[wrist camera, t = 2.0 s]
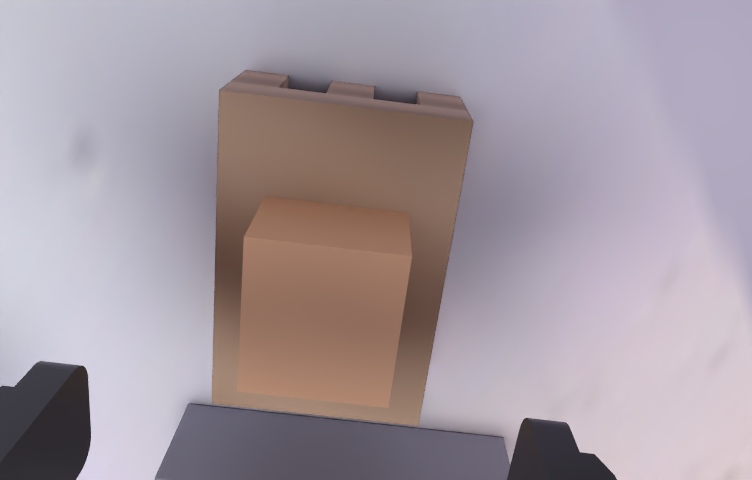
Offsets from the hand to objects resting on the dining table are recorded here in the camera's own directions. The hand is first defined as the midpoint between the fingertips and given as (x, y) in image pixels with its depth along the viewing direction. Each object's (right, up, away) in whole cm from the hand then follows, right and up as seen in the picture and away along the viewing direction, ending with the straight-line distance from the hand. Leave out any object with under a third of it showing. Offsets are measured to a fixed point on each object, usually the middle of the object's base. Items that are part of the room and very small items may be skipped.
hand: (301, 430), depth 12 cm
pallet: (0, +4, +8) cm, 9 cm away
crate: (0, +3, +5) cm, 6 cm away
